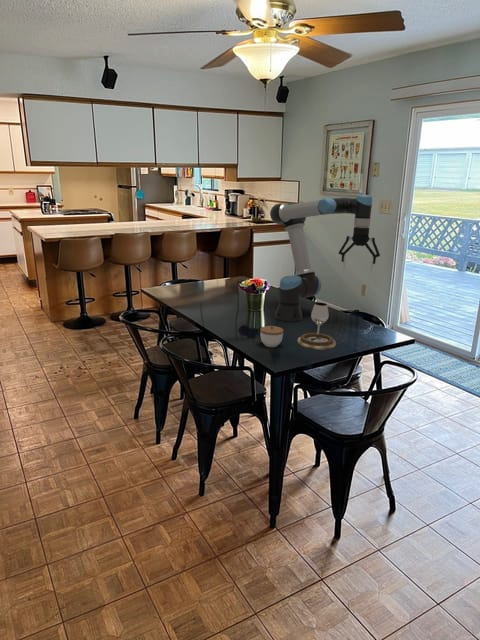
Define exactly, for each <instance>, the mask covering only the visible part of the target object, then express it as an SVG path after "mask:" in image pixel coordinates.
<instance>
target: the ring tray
mask: <svg viewBox="0 0 480 640" xmlns="http://www.w3.org/2000/svg"><path fill="white" fill-rule="evenodd" d="M312 338H317V332H307V333H304V334H301V335H300V336H299V337H298V338H297V344H298V345H299V346H301V347H303V348H305V349H311V350H318V351H319V350H320V351H321V350H322V351H325V350H331V349H334V348H335V347H336V344H337V342H336V340H335V339H334V337H332V336H331V335H328V334H326V333H320V332H319V338H320V339H323V340H324V342H314V341H311V339H312Z"/></svg>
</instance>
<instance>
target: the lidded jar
mask: <svg viewBox="0 0 480 640" xmlns="http://www.w3.org/2000/svg"><path fill="white" fill-rule="evenodd" d="M259 335H260V340H261V342H262V343H263V345H264V347H267V348H276V347H278V346H279V345H280V344H281V342H282V340H283V337H284V329H283V328H282V327H280V326H274V325H265V326H262V327H260V334H259Z"/></svg>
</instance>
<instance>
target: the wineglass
mask: <svg viewBox="0 0 480 640" xmlns="http://www.w3.org/2000/svg"><path fill="white" fill-rule="evenodd" d="M329 315H330V313H329V308H328V304H327V303H325V302H314V304H313V307H312V310H311V313H310V318H311V320H312V322H314V323H315V325H316V326H317V332H316V333H317V338H312V339H311V341H314V342H324V340H323V339H320V338H319V333H320V328H321V326H322V325H324V323H326V322H327V321H328V320H329Z"/></svg>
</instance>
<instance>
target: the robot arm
mask: <svg viewBox="0 0 480 640" xmlns="http://www.w3.org/2000/svg"><path fill="white" fill-rule="evenodd" d="M372 206H373V196H372V195H371V194H357V195H356V198H352V197H351V198H350V197H336V198H335V197H325V198H321V199H317V200H311V201H306V202H305V201H304V202H290V203H289V202H287V203H286V202H285V203H281V202H280V203H276V204H275V205H273V206H272V207H271V209H270V211H269V212H270V213H269V216H270V217H269V218H270V219H271V221H272V222H273V223H275V224H276V225H283V227H284V228H283V229H284V230H285V231H287V233H288V239H289V244H290V249H291V253H292V258H293V262H294V268H295V272H296V273H295V274H294V275H293V274H292V275H287V276H284V277H283V276H282V278H281V279H280V280H279V286H278V287H279V291H278V292H279V293H278V305H277V308H276V310H275V314H274V319H276V320H278V321H280V322H287V323H288V322H289V323H295V322H301V321H302V320H303V312H302V309H301V299H305V298H311V297H314V296H316V295H318V294H319V293H320V291H321V288H322V280H321V279H320V278H319V276H317V275H316V272H315V270H314V269H312V266H311V262H310V261H311V260H310V256H309V253H308V252H309V251H308V247H307V243H306V242H307V241H306V237H305V232H304V227H305V222H306V220H307V218H308V217H309V218H311V217H316V216H326V215H332V214H333V215H336V214H337V215H338V214H340V215H341V214H348V215H350V214H351V215H352V214H353V215H354V223H353V225H354V227H353V233H352V236H350V235H347V236H346V238H345V241H344V243H343V245H342V246H341V248H340V249H339V251H338V255H341V262H343V265H342V269H346V258H347V257H346V256H347V255H346V254H347V253H349V251H351V249H352V248H353V247H354V246H356V247H359V246H360V247H364V246H365V247H366V249H367V250H368V251H369V253H370V254H371V256H372V257H371V264H370V271H373V265H375V264H376V261H377V258H379V257H380V256H381V254H380V251H379V249H378V246H377V244H376V238H375V237H369V235H370V226H371V214H372ZM351 240H352V243H351V244H350V245H349V246H348V247H347V248H346V246H347V245H348V243H349V242H350V241H351ZM369 241H370V242H371V244H372V246H373V248H374V250H375V252H374V251H373V249H372V248H371V247H370V245H369V244H368V242H369ZM345 248H346V249H345ZM344 249H345V250H344Z"/></svg>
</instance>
